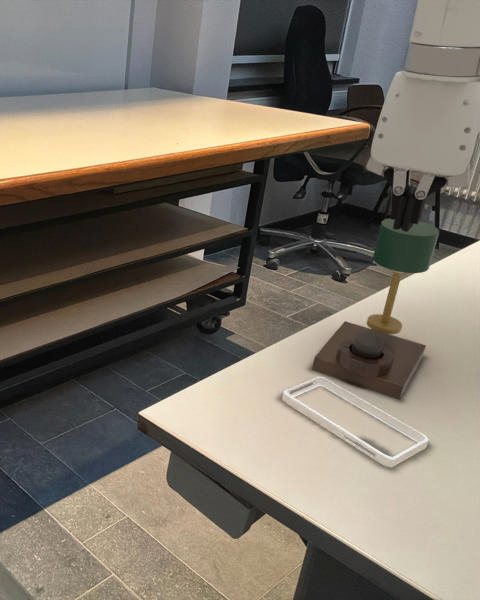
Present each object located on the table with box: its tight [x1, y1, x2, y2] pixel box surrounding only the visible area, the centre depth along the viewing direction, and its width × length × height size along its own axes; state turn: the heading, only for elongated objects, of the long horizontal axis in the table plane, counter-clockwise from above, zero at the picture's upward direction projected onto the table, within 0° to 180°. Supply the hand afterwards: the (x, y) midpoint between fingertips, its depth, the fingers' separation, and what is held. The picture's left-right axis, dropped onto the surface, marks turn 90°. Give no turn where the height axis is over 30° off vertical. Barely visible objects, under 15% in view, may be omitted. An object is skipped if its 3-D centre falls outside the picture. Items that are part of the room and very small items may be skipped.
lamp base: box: [311, 320, 427, 401], centre depth 90 cm, size 11×14×4 cm
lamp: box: [366, 217, 440, 335], centre depth 89 cm, size 7×7×14 cm
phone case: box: [281, 375, 430, 469], centre depth 79 cm, size 7×1×15 cm
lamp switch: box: [351, 333, 384, 360], centre depth 86 cm, size 4×4×2 cm
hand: (402, 227), depth 79 cm, fingers closed
